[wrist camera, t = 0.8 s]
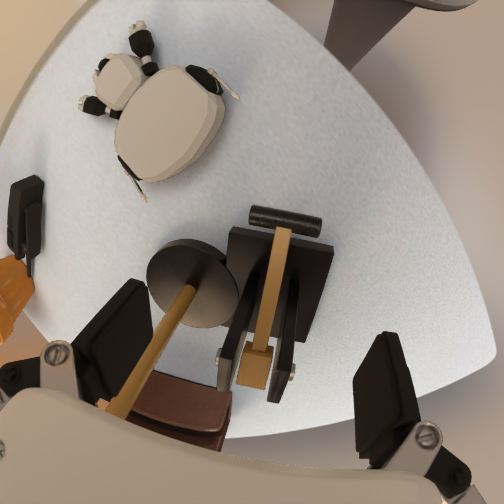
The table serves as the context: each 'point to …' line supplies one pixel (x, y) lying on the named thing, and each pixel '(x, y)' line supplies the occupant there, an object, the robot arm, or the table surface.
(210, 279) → the desk lamp
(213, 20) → the table surface
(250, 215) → the switch lever
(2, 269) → the flower pot
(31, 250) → the walkie-talkie
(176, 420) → the letter holder
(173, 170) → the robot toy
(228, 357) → the black pivot bracket
